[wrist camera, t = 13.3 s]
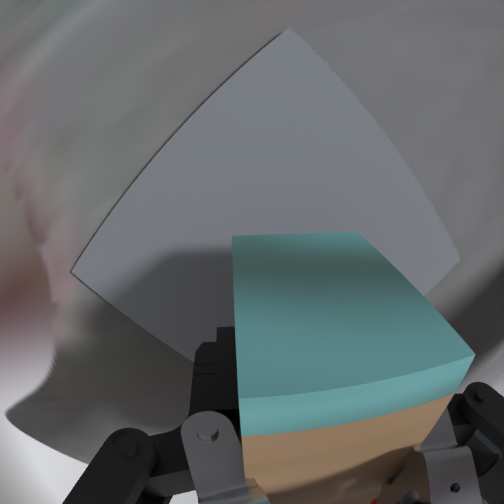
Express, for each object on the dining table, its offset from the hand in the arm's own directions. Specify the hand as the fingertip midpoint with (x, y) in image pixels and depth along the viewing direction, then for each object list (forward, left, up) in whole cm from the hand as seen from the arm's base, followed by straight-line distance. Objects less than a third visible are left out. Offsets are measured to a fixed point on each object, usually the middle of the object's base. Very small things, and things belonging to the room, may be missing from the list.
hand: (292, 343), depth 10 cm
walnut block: (+4, +4, +3) cm, 7 cm away
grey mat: (-1, -1, -4) cm, 4 cm away
